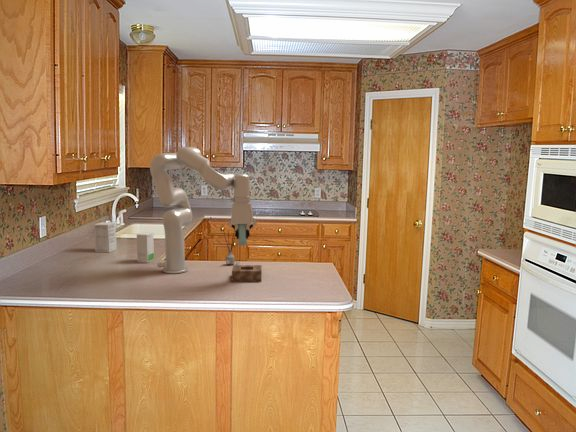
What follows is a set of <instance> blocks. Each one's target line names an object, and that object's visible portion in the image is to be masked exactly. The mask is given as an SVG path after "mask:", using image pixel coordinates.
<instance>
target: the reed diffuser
mask: <svg viewBox="0 0 576 432" xmlns="http://www.w3.org/2000/svg"><path fill="white" fill-rule="evenodd" d="M222 231H223V233H224V239H225V243H226V245H227V250H228V253H227V255H225V264H226V265H234V264H235V265H241V263H240V261H235V255H234V254H233V250H232V249H233V245H234V241H235V239H236V237H235V230H234V229H233V234H232V237H233V238H232V239H231V243H232V244H230V246H229V243H228V241H227V238H228V240H230V234H229V231H227V234H228V236H227V237H226V233H225V230H224V228H222Z"/></svg>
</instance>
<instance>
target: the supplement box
mask: <svg viewBox="0 0 576 432" xmlns="http://www.w3.org/2000/svg"><path fill="white" fill-rule="evenodd" d="M116 233H117V230H116V222H109V221H108V222H105V221H101V222H98V223H95V224H93V234H94V251H95V253H112V252H114V251H116V250H117V249H118V248H117V234H116Z"/></svg>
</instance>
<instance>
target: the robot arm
mask: <svg viewBox="0 0 576 432" xmlns="http://www.w3.org/2000/svg"><path fill="white" fill-rule="evenodd" d="M149 164H150V165H149V171H150V174H151V177H152V179H153V182H154V186H155V189H156V193H157V196H158V199H159V202H160V204H161V206H162V207H164V208H173V209H169V210H167V211H166V212H165V213H164V214H163V216H162V224H163V228H164V229H163V230H164V240H165V241H164V243H165V245H164V247H165V261H164V262H157V264H156V266H157V267H158V268H162V272H163V273H166V274H182V273H186V272H188V271H189V268H188V266H186V257H185V254H186V253H185V252H186V251H185V250H186V249H185V248H186V246H185V233H184V230H183V227H185V226H188V225H190V224H191V223H192V221H193V216H194V215H193V210H192V208H191V204H190V201H189V198H188V195H187V192H186V191H185V190H184V189H183V188H181V187H175V186H174V184H173V180H172V178H171V176H170V174H169V173H168V171H170V170H171V171H172V170H180V169H183V168H188V169H189V170H192V171H193V172H194V173H196V174H198V175H199V177H200V178H201V179H202V180H203V182H205V183H206V184H207V185H209V186H211V187H212V188H214V189H215V190H218V191H226V190H233V197H231V198H230V201H231V202H233V203H231V212H230V213H231V217H230V219H229V221H227V225H228V226H229V227H231V228H232V229H233V231H234V230H235V231H234V237H235V238H236V239H237V240H238V224H246V229H247V230H246V238H247V239H249V238H250V231H251V229H252V228H253V227H255V226H256V225H257V224H258V223H257V221H256V219H255V217H254V216H253V215H254V213H253V206H252V203H251V202H250V201H251V198H250V189H251V188H250V176H249V174H247V173H246V174H244V173H243V174H241V173H239V174H238V173H237V174H235V173H219V172H218V171H217V170H215V169H213V168H212V167H211V161H210V160H209V159H208V158H206V157H205V156H203V155H202V152H201V150H200V149H199V148H197V147H195V146H182V147H180V148H179V149H178V150H177V151H176V152H163V153H162V152H161V153H158V154H155V155H154V156H153V157H152V159H151V161H150V163H149Z"/></svg>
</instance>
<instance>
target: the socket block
mask: <svg viewBox="0 0 576 432" xmlns="http://www.w3.org/2000/svg"><path fill="white" fill-rule="evenodd" d="M262 267H263V266H262V265H261V264H260V265H259V264H255V265H253V264H251V265H249V264H247V265H246V264H245V265H243V264H242V265H241V264H240V265H234V264H232V269H231V282H232V283H233V282H262V275H263V274H262V269H263V268H262Z"/></svg>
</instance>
